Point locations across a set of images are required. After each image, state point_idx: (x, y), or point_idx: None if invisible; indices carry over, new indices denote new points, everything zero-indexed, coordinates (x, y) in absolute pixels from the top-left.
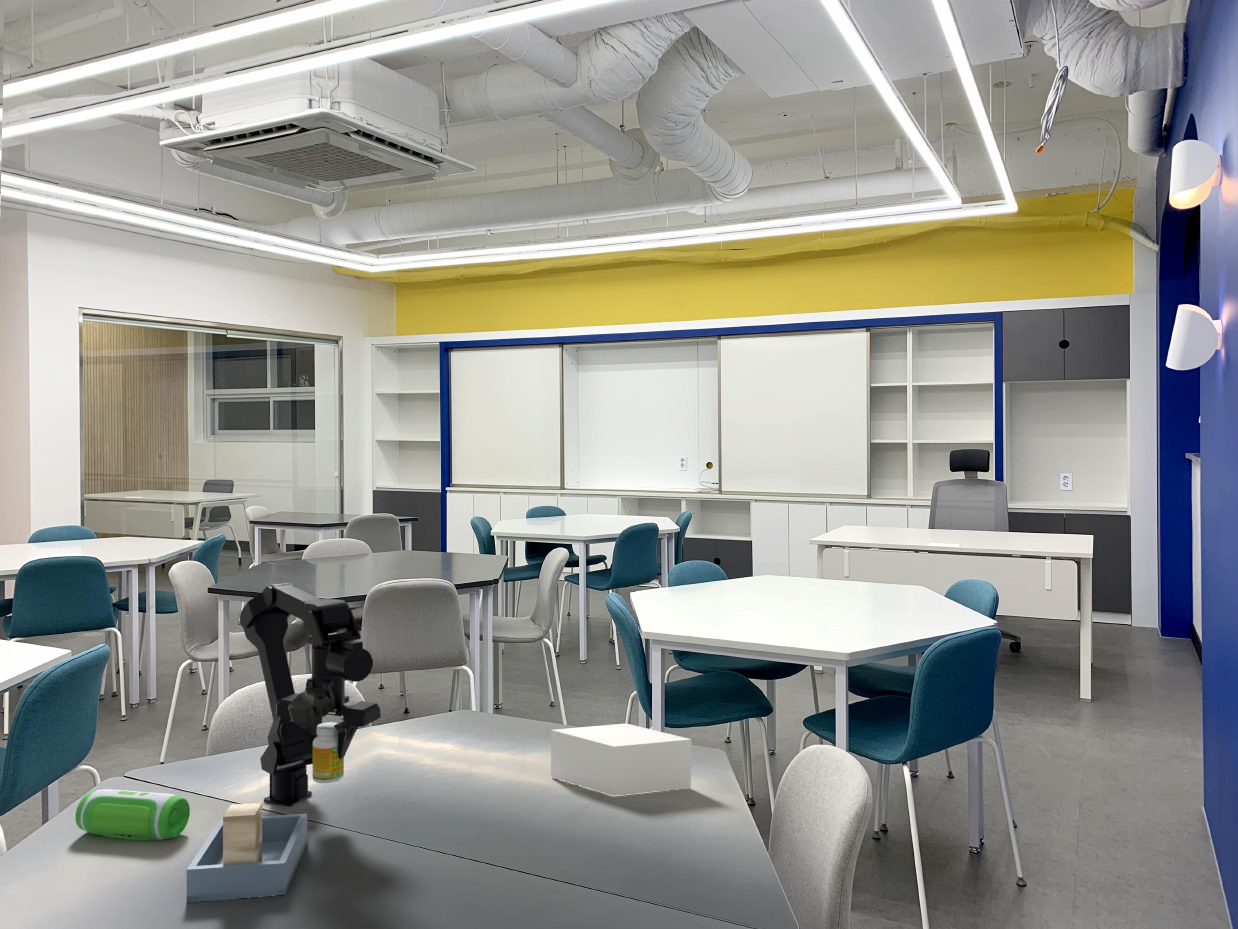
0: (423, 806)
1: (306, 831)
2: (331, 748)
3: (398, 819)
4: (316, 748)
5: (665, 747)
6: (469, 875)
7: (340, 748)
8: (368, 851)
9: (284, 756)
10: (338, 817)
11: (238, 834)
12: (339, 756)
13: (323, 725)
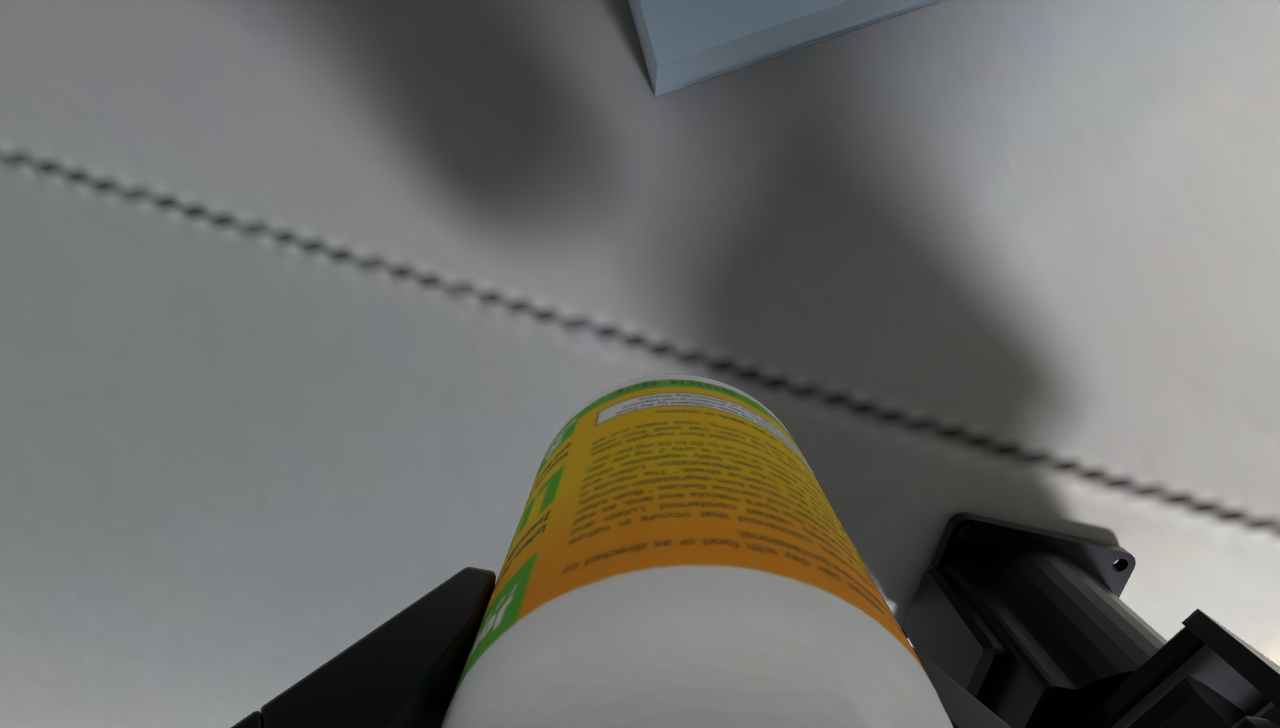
0: (260, 613)
1: (649, 62)
2: (526, 610)
3: (301, 458)
4: (805, 578)
5: None
6: None
7: (385, 645)
8: (239, 42)
9: (1243, 721)
10: None
11: None
12: (470, 582)
13: None
